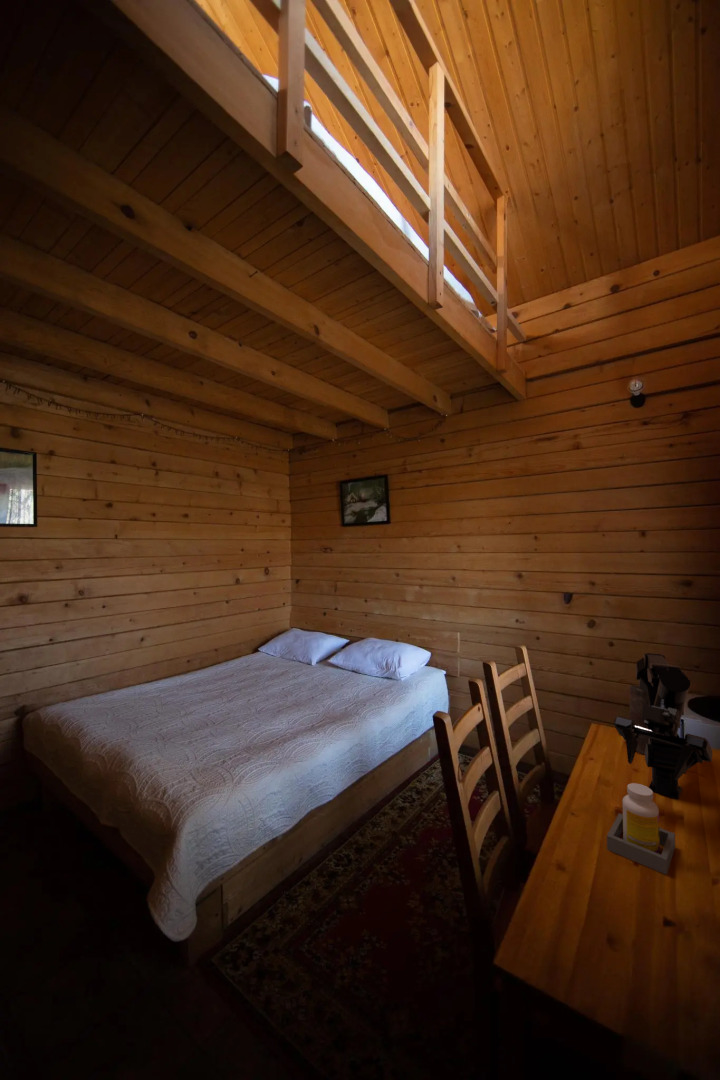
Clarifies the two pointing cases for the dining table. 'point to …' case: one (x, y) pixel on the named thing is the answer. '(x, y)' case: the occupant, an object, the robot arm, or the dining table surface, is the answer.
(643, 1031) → the dining table surface
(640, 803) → the supplement bottle
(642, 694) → the candle
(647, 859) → the holder
